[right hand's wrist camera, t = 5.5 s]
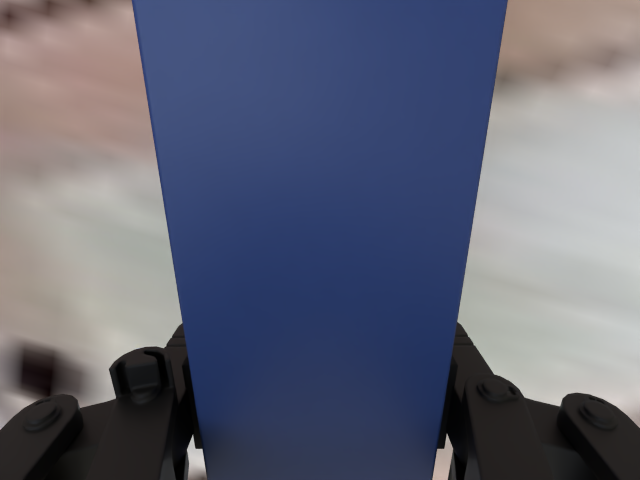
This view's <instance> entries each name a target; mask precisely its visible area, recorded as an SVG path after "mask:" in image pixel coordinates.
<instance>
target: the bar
mask: <svg viewBox="0 0 640 480" xmlns="http://www.w3.org/2000/svg"><path fill="white" fill-rule="evenodd" d="M507 1H508V0H132V5H133V11H134V17H135V24H136V30H137V36H138V43H139V49H140V55H141V62H142V68H143V74H144V81H145V87H146V93H147V100H148V106H149V112H150V119H151V125H152V131H153V138H154V144H155V150H156V157H157V163H158V169H159V176H160V182H161V189H162V195H163V201H164V208H165V214H166V220H167V227H168V233H169V239H170V246H171V252H172V258H173V265H174V271H175V277H176V284H177V290H178V296H179V303H180V309H181V315H182V322H183V328H184V334H185V341H186V347H187V353H188V360H189V366H190V372H191V379H192V385H193V391H194V398H195V404H196V410H197V417H198V423H199V429H200V436H201V442H202V449H203V455H204V461H205V468H206V474H207V480H432V478H433V471H434V465H435V459H436V452H437V446H438V440H439V433H440V427H441V421H442V414H443V408H444V402H445V395H446V389H447V382H448V376H449V370H450V363H451V357H452V351H453V344H454V338H455V332H456V325H457V319H458V313H459V306H460V300H461V294H462V287H463V281H464V275H465V268H466V262H467V255H468V249H469V243H470V236H471V230H472V224H473V217H474V211H475V205H476V198H477V192H478V186H479V179H480V173H481V167H482V160H483V154H484V148H485V141H486V135H487V128H488V122H489V116H490V109H491V103H492V97H493V90H494V84H495V78H496V71H497V65H498V59H499V52H500V46H501V40H502V33H503V27H504V21H505V14H506V8H507Z"/></svg>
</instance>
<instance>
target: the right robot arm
mask: <svg viewBox="0 0 640 480" xmlns="http://www.w3.org/2000/svg"><path fill="white" fill-rule="evenodd" d="M109 371H110V375H111V379H112V383H113V387H114V391H115V395H116V399H114V400H111V401H107V402H104V403H99V404H95V405H91V406H87V407H82V408H80V407H79V404H78V400H77V399H76V398H74V397H73V396H71V395H65V394H61V395H54V396H49V397H47V398H44V399H41V400H38V401H36V402H34V403H32V404H31V405H29V406H27V407H25V408H24V409H22V410H21V411H20V412H19V413H18V414H16V415H15V416H14V417H13V418H12V419H11V420H10V421H9V422H8V423H7V424H6V425H5V426H4V427H3V428H2V429H1V430H0V480H188V469H189V460H188V453H187V448H188V445H189V443H190V440H191V438H192V435H193V436H194V442H195V448H196V449H202V442H201V436H200V429H199V423H198V417H197V410H196V404H195V398H194V391H193V385H192V379H191V372H190V366H189V360H188V353H187V347H186V341H185V334H184V328H183V323H182V324H181V325H179V327H178V328H177V330H176V331H175V333H174V334H173V336H172V338H171V339H170V340H169V342H168V343H167V346H166V347H165V348H160V347H144V348H140V349H136V350H133V351H131V352H129V353H126V354H124V355H123V356H121V357H120V358H119V359H117V360H116V361H115V362H114V363H113V364H112V366H111V367H110V368H109ZM447 434H448V437H449V439H450V442H451V444H452V447H453V453H452V459H451V465H450V470H449V476H448V480H640V428H639V427H638V426H637V425H636V424H635V423H634V422H633V421H632V420H631V419H630V418H629V417H628V416H627V415H626V414H625V413H623V412H622V411H621V410H620V409H619V408H617V407H616V406H614V405H612V404H611V403H609V402H607V401H605V400H603V399H601V398H598V397H595V396H592V395H589V394H583V393H572V394H568V395H566V396H565V397H564V398H563V399H562V403H561V406H560V407H559V406H555V405H551V404H547V403H542V402H538V401H534V400H531V399H527V398H524V396H523V395H522V393H521V391H520V390H519V389H518V388H517V387H516V386H515V385H514V384H513V383H511V382H510V381H508V380H506V379H504V378H502V377H500V376H497V375H494V374H493V372H492V371H491V369H490V368H489V366H488V365H487V363H486V362H485V360H484V359H483V357H482V356H481V354H480V353H479V351H478V350H477V348H476V347H475V346H474V345H473V342H472V341H471V339H470V338H469V337H468V335H467V333H466V332H465V330H464V329H463V327H462V326H461V324H459V323H458V322H457V325H456V332H455V338H454V344H453V351H452V357H451V363H450V370H449V376H448V382H447V389H446V395H445V402H444V408H443V414H442V421H441V427H440V433H439V440H438V446H437V449H444V447H445V441H446V435H447Z"/></svg>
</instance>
